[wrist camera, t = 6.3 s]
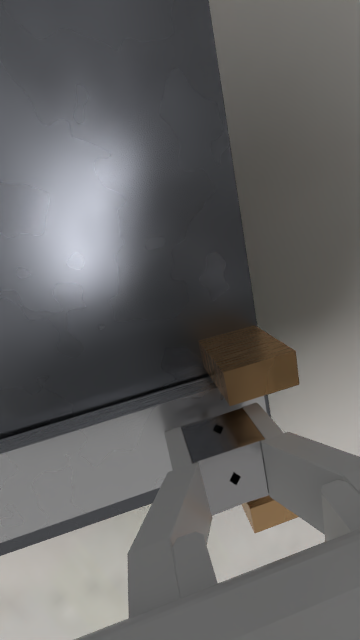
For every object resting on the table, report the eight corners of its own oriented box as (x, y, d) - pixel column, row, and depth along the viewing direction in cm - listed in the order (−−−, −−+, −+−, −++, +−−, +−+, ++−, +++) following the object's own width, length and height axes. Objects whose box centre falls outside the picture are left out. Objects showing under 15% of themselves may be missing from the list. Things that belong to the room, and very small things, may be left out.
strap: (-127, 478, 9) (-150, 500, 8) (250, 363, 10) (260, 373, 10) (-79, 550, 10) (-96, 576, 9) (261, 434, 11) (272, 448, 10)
